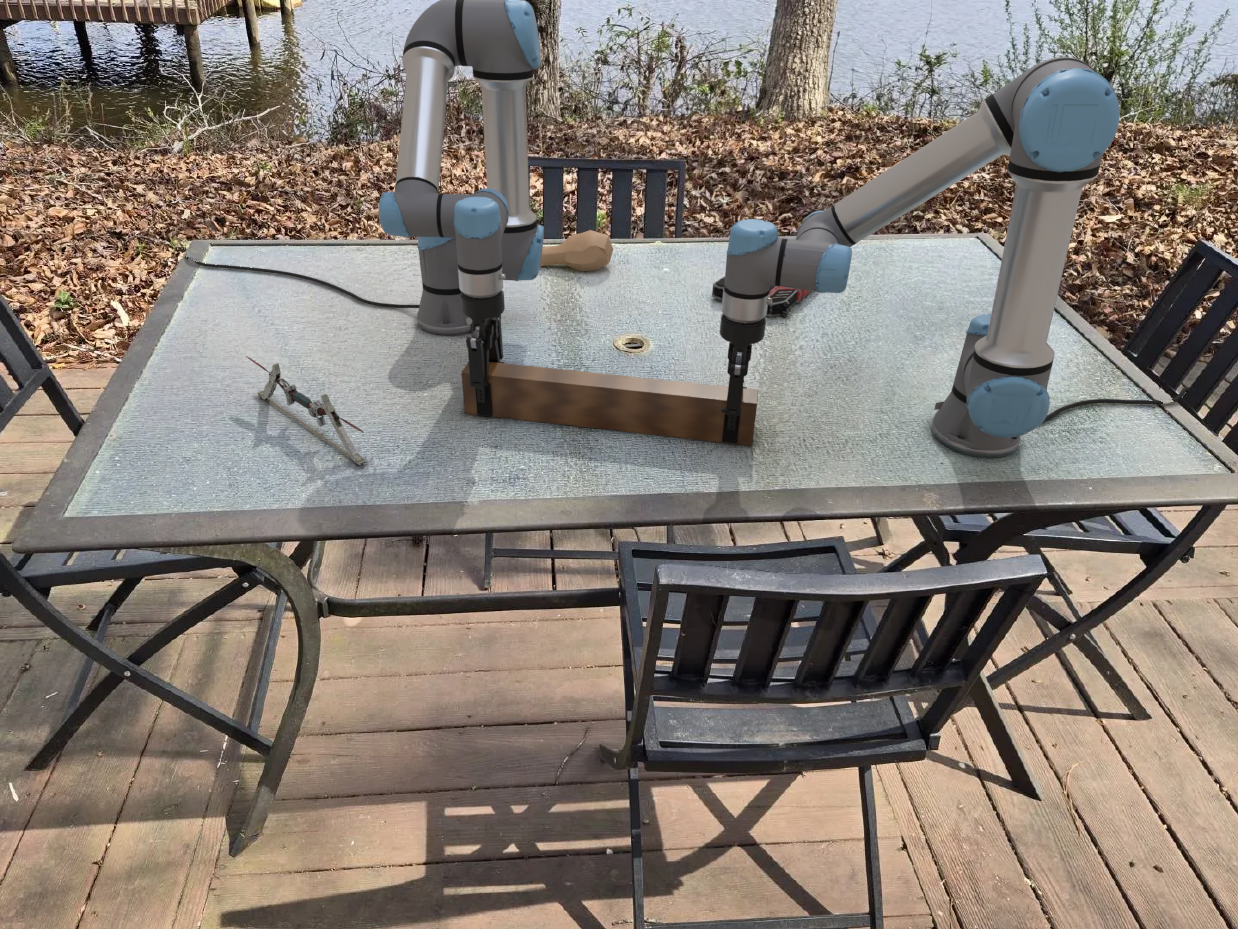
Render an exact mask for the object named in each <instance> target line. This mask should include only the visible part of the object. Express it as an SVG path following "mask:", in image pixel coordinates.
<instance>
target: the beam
mask: <svg viewBox="0 0 1238 929" xmlns="http://www.w3.org/2000/svg"><path fill="white" fill-rule="evenodd" d="M460 376H461V387H462V398H463V409H464V410H463V411H464V414H465V415H474V416H478V415H477V404H476V391H475V387H471V386H470V373H469V361H467V363H466V364H465V366H464V368H463V369H462V370H461V373H460ZM488 382H489V383H490V384H491V398H492V414H493V415H492V416H490V418H500V419H508V420H509V419H510V420H519V421H527V422H536V423H545V424H546V423H547V424H554V425H562V426H572V427H581V428H590V429H598V430H599V429H600V430H607V431H617V432H625V433H634V434H642V435H643V434H644V435H653V436H662V437H669V438H679V439H688V440H697V441H704V442H705V441H706V442H715V443H722V444H723V443H724V444H726V443H725V442H722V436H723V427H724V417H725V412H722V408H726V405H727V396H728V387H729V385H727V386H726V385H717V384H709V383H707V384H706V383H699V382H698V383H697V382H688V381H678V380H671V379H670V380H669V379H659V378H652V377H651V378H649V377H641V376H631V375H622V374H611V373H610V374H609V373H601V372H592V371H583V370H572V369H563V368H555V367H554V368H553V367H544V366H533V365H526V364H525V365H524V364H515V363H506V362H504V363H496V362H489V381H488ZM758 402H759V389H755V388H748V387H747V388H743V391H742V399H741V408H740V409H741V414H740V423H739V431H738V440H737V444H736V445H742V446H749V447H751V446H752V447H753V440H754V433H755V426H756V417H757V409H758ZM481 416H483V415H481ZM483 417H484V416H483ZM731 444H732V445H733V443H731Z"/></svg>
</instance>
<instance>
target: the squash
mask: <svg viewBox="0 0 1238 929" xmlns="http://www.w3.org/2000/svg"><path fill="white" fill-rule="evenodd" d="M613 252H614V247H613V244H612V242H611V240H610V236H609V235H607V234H605V233H602V232H598V231H594V230H592V229H589V230H587V231H584V232H580V233H575V234H571V235H570V236H569V237H568V238H566V239H565V241H564V242H562V243H560V244H558V245H550V246H543V248H542V256H541V263H540V267H545V266H551V265H552V266H553V265H562V266H567V267H570V268H572V269H575V270H578V271H580V272H595V271H597V270H599V269H601V268H603V267H605V266H608V265H609V264H610V262H611V261H612V260H611V259H612V256H613Z"/></svg>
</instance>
